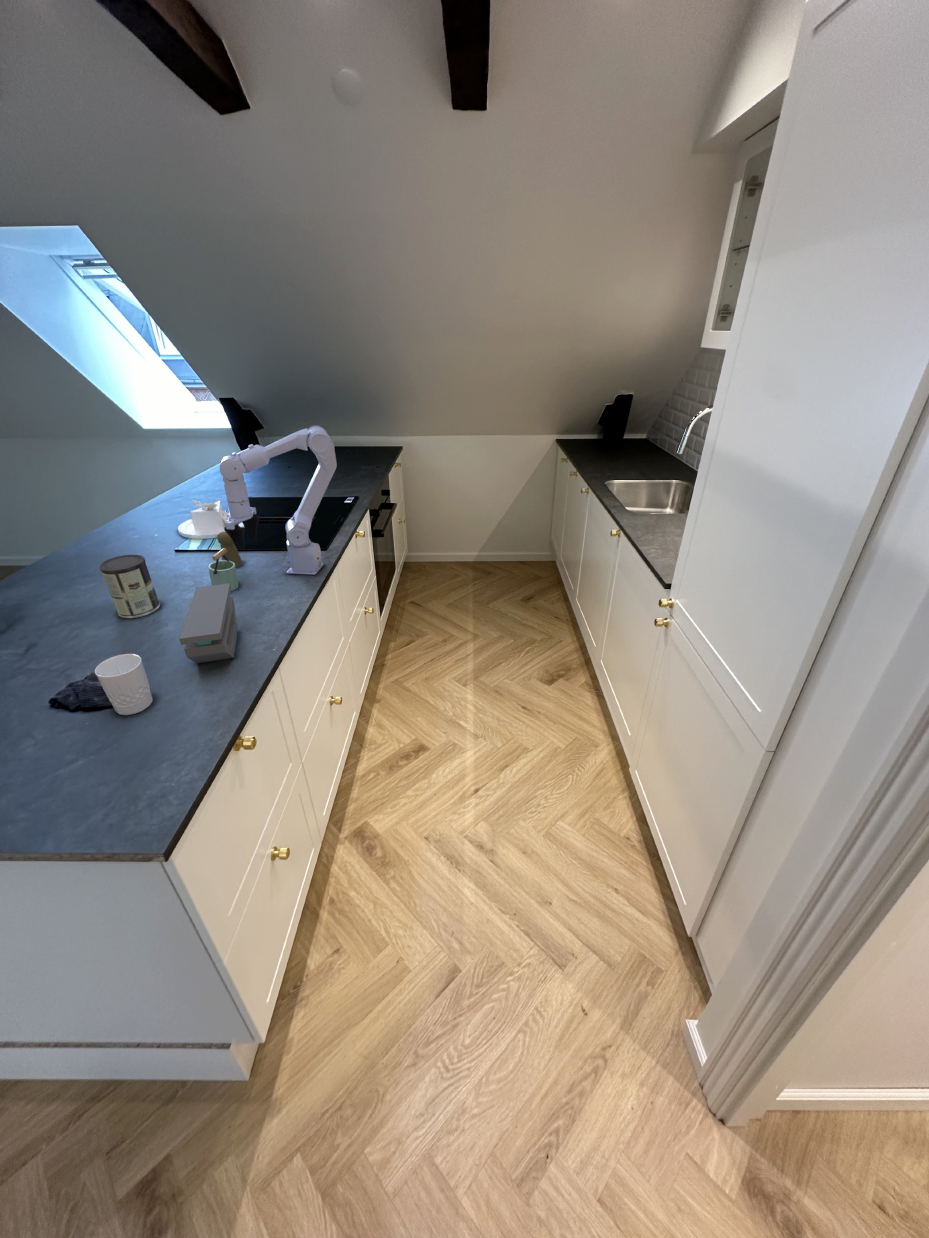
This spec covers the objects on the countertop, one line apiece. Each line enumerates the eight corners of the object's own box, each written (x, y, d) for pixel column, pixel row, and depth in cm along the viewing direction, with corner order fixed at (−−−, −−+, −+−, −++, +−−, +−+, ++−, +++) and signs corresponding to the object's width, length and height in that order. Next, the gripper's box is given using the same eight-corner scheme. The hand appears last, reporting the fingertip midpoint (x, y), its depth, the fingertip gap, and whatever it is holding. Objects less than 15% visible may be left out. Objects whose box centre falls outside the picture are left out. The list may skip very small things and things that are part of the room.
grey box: (207, 624, 133) (196, 587, 127) (239, 620, 135) (229, 583, 129) (192, 680, 112) (179, 638, 107) (231, 674, 114) (219, 633, 109)
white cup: (124, 693, 108) (107, 654, 103) (162, 691, 109) (148, 652, 104) (104, 718, 101) (86, 677, 96) (145, 716, 102) (129, 676, 97)
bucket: (243, 582, 154) (238, 547, 149) (230, 594, 147) (224, 559, 142) (221, 579, 155) (215, 545, 149) (206, 591, 148) (199, 556, 142)
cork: (235, 569, 162) (227, 536, 157) (218, 567, 163) (210, 535, 158) (246, 561, 167) (239, 530, 162) (229, 560, 168) (222, 528, 163)
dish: (234, 539, 185) (226, 508, 179) (165, 538, 185) (156, 508, 179) (258, 516, 206) (252, 489, 200) (197, 516, 206) (189, 488, 201)
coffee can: (140, 598, 145) (124, 552, 138) (168, 603, 142) (153, 557, 135) (108, 615, 137) (88, 567, 130) (137, 621, 134) (119, 572, 127)
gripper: (236, 492, 153) (245, 535, 160) (211, 506, 140) (221, 552, 147) (259, 493, 152) (267, 536, 159) (236, 508, 140) (245, 554, 147)
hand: (246, 544), depth 153 cm, fingers open, 7 cm apart
